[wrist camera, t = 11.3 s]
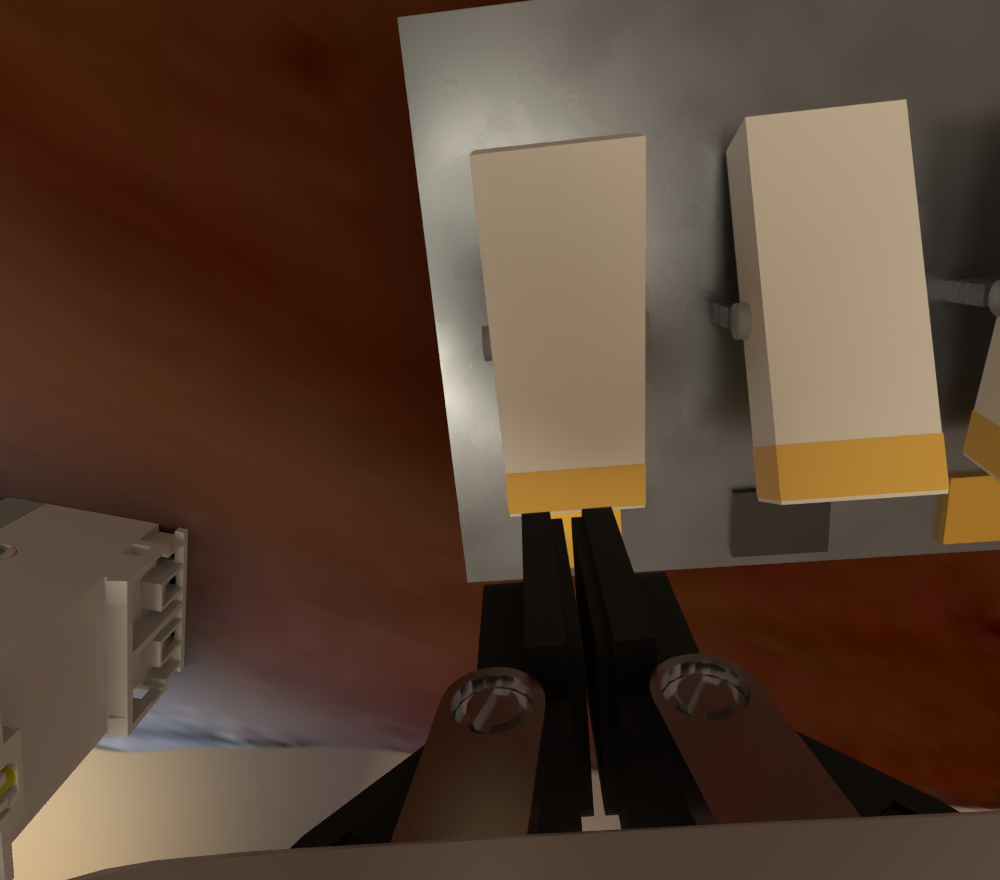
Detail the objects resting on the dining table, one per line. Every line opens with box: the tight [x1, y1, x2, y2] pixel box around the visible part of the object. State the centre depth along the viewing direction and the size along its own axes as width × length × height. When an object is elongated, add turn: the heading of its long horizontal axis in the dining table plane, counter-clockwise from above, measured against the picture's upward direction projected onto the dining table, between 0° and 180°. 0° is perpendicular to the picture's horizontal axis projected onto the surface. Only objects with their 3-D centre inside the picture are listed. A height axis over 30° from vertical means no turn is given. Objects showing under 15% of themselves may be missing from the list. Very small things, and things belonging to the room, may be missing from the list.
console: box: [397, 0, 1000, 582], centre depth 21 cm, size 18×22×7 cm
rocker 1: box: [469, 133, 651, 517], centre depth 18 cm, size 10×5×2 cm, turn 5°
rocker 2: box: [726, 99, 949, 505], centre depth 17 cm, size 10×5×2 cm, turn 6°
